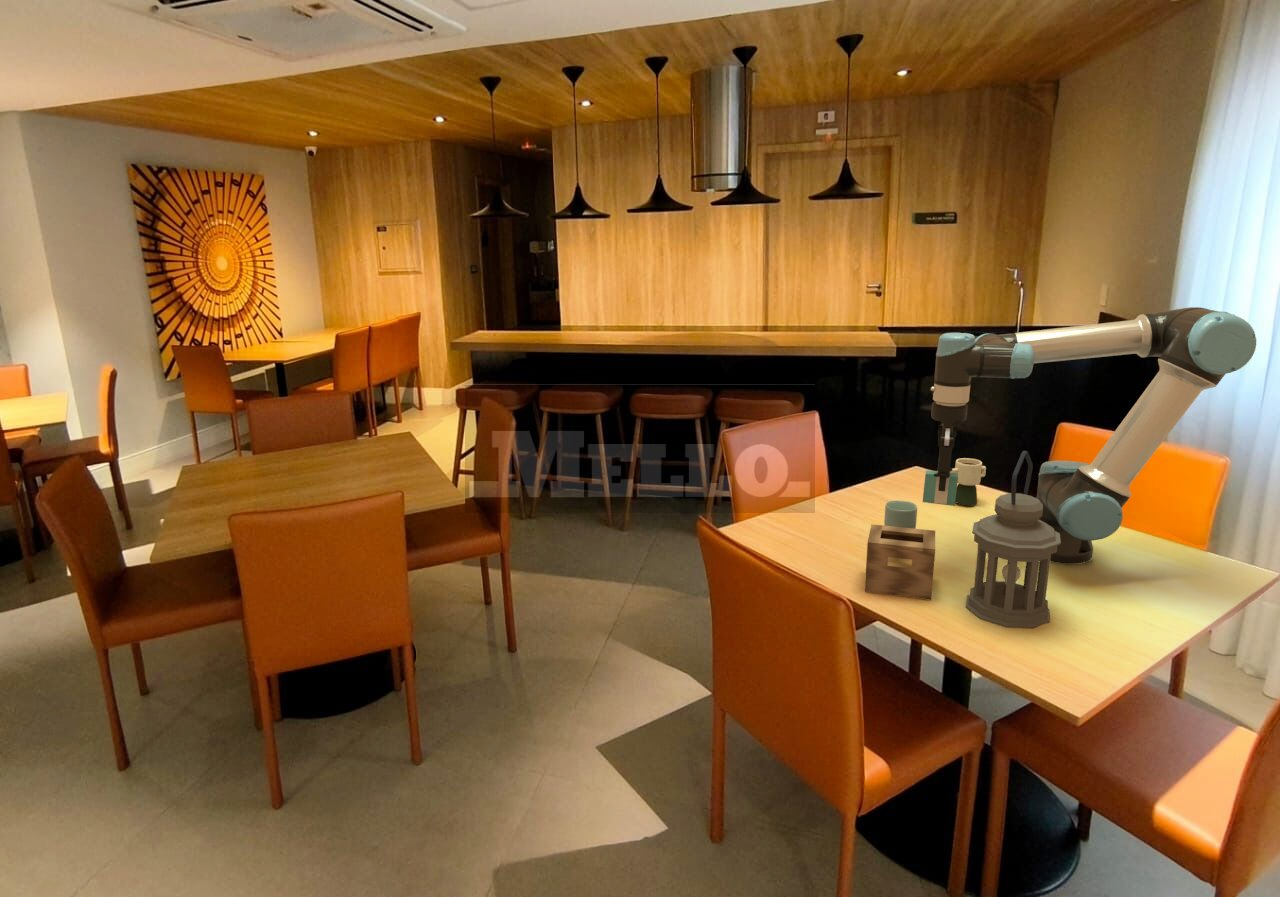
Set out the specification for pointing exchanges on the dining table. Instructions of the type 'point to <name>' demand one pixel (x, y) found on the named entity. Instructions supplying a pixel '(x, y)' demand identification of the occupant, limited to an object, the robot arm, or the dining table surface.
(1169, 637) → the dining table surface
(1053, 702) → the dining table surface
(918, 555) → the coin box
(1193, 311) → the robot arm
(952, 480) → the block
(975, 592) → the lantern
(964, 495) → the character mug
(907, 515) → the cup
